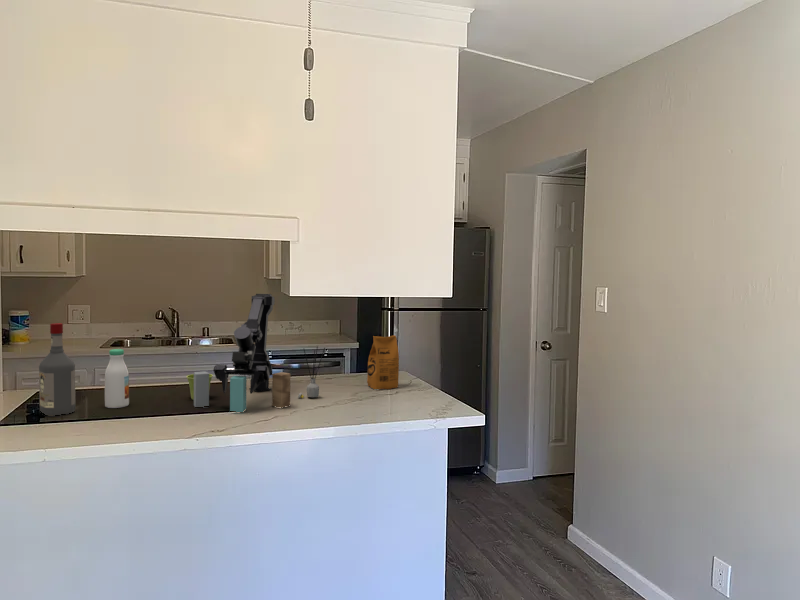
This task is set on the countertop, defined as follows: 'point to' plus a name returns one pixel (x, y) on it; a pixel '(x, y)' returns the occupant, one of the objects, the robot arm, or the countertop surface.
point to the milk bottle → (116, 381)
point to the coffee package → (383, 363)
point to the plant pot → (191, 383)
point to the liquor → (57, 377)
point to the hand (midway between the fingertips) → (237, 392)
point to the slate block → (201, 389)
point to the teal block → (238, 393)
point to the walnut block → (281, 389)
